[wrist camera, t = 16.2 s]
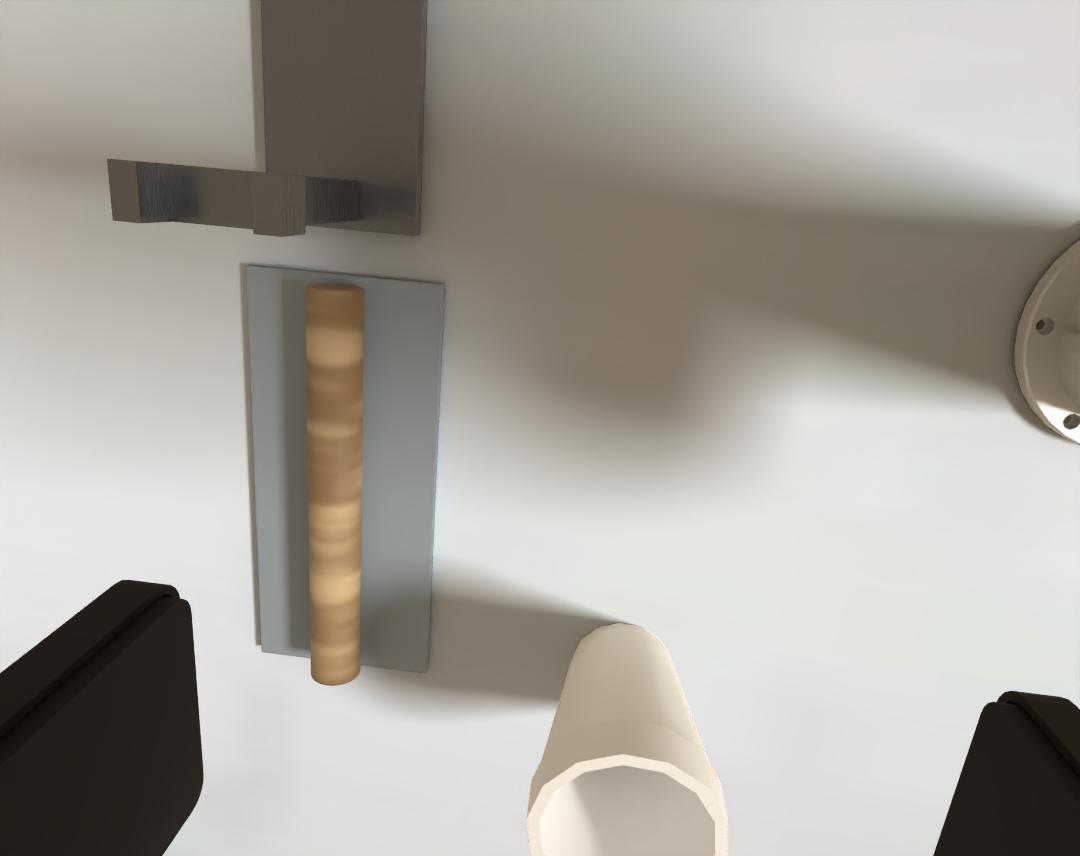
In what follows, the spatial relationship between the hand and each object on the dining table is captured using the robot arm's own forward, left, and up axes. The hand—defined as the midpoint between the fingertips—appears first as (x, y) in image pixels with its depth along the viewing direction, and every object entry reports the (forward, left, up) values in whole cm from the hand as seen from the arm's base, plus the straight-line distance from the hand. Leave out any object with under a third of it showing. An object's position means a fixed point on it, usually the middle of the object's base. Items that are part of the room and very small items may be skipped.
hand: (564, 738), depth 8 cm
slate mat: (+14, +12, -32) cm, 37 cm away
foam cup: (-4, +22, -32) cm, 39 cm away
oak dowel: (+14, +12, -32) cm, 36 cm away
